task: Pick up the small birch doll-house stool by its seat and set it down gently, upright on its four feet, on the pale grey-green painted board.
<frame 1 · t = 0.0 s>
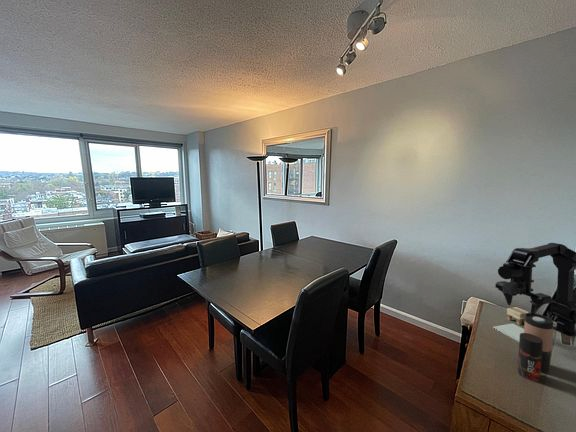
hand: (520, 309, 107), 15 cm above the table, fingers open, 9 cm apart
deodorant: (528, 375, 88), on the table
board: (516, 333, 113), on the table
travel mug: (535, 366, 92), on the table
stool: (517, 321, 123), on the table
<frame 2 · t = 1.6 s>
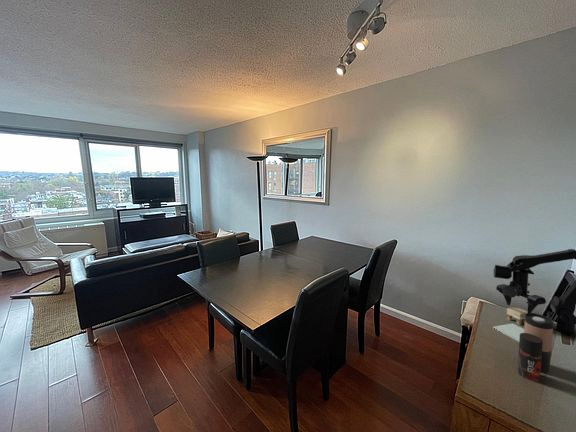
hand: (518, 309, 122), 7 cm above the table, fingers open, 9 cm apart
nothing on the table moved.
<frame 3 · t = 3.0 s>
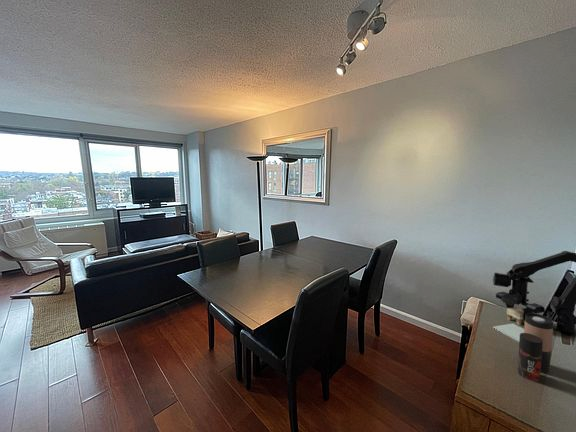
hand: (517, 317, 123), 2 cm above the table, fingers closed on stool, 6 cm apart
stool: (517, 321, 123), on the table, touching gripper
everything else where it was.
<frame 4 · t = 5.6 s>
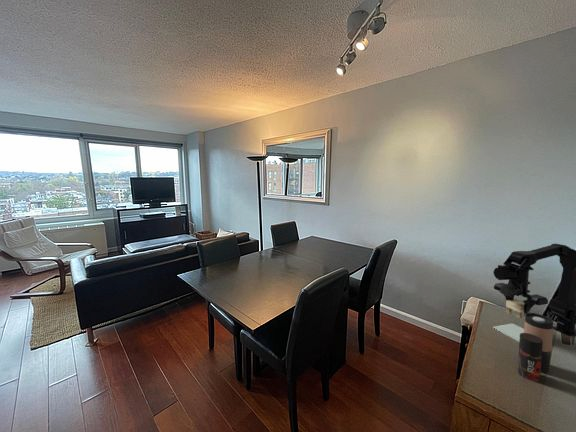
hand: (517, 310, 112), 12 cm above the table, fingers closed on stool, 6 cm apart
stool: (517, 314, 112), point 10 cm above the table, touching gripper
everything else where it was.
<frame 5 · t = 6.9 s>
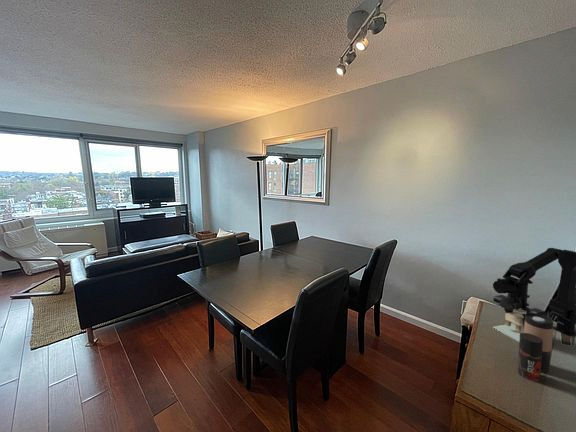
hand: (517, 323, 112), 5 cm above the table, fingers closed on stool, 6 cm apart
stool: (516, 327, 113), point 3 cm above the table, touching gripper
everything else where it was.
when the fingers open (4 cm above the table, at t = 8.2 s): stool stays where it is, resting on board.
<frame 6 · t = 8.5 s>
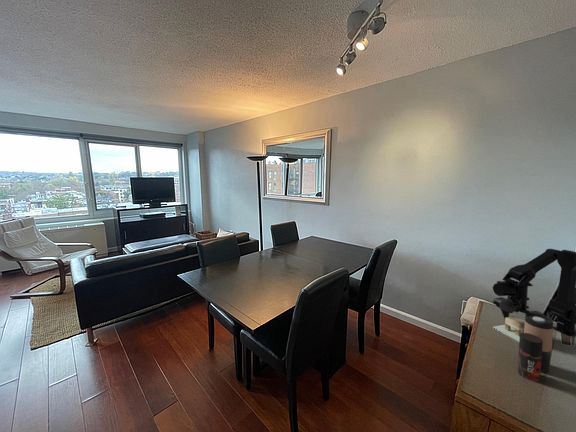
hand: (516, 325, 113), 4 cm above the table, fingers open, 9 cm apart
stool: (516, 331, 113), point 1 cm above the table, touching board
everything else where it was.
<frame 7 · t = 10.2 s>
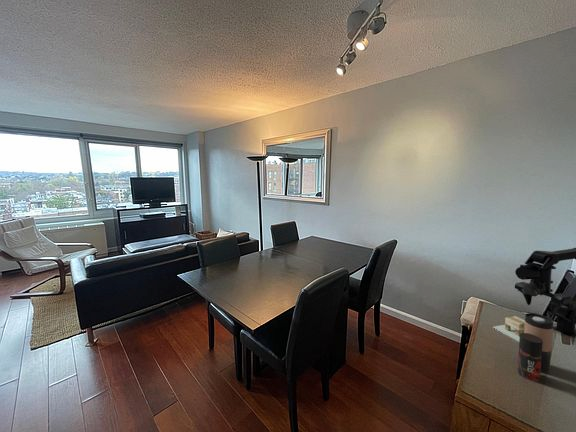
hand: (540, 309, 112), 12 cm above the table, fingers open, 9 cm apart
nothing on the table moved.
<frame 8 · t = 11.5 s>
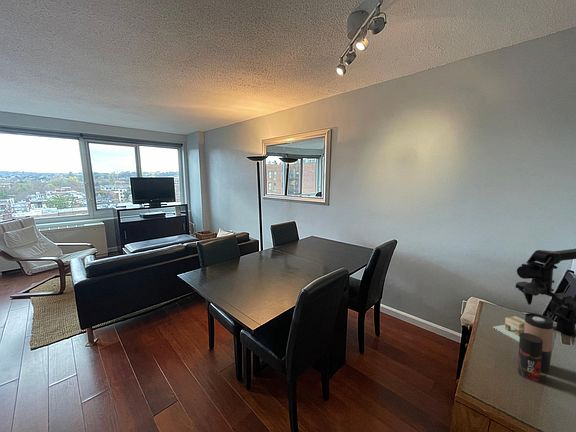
hand: (540, 308, 112), 12 cm above the table, fingers open, 9 cm apart
nothing on the table moved.
at the end: stool inside the target area on the board (0.0 cm from its centre), point 0.8 cm above the board's base; stool tilted 0°; the gripper is holding nothing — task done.
